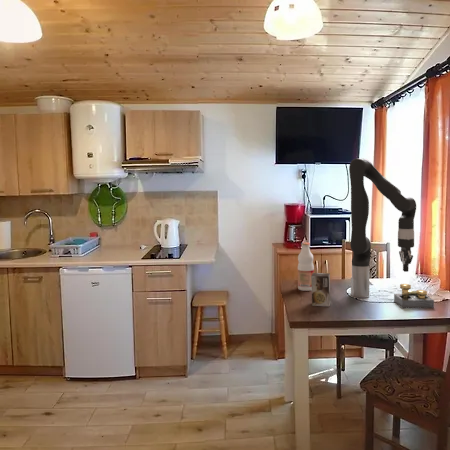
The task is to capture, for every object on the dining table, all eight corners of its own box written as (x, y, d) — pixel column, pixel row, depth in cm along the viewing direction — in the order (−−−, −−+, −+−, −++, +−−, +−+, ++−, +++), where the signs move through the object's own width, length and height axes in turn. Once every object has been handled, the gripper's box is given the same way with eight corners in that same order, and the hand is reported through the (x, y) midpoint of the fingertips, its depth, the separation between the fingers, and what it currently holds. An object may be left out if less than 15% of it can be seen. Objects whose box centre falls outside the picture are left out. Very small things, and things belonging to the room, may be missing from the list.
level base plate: (402, 308, 200) (402, 297, 200) (394, 301, 212) (394, 290, 212) (433, 308, 199) (433, 296, 199) (423, 300, 211) (423, 290, 211)
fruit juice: (295, 287, 245) (294, 242, 242) (310, 286, 247) (309, 241, 244) (302, 291, 236) (301, 244, 233) (316, 290, 238) (316, 243, 235)
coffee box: (330, 303, 213) (330, 273, 211) (329, 306, 207) (329, 276, 205) (313, 302, 216) (312, 272, 214) (311, 305, 210) (311, 275, 208)
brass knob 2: (418, 305, 203) (418, 292, 203) (414, 302, 208) (414, 290, 207) (428, 305, 203) (428, 292, 202) (424, 302, 208) (424, 289, 207)
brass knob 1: (402, 299, 204) (402, 286, 203) (398, 296, 208) (398, 283, 208) (412, 299, 203) (412, 286, 202) (408, 296, 208) (408, 283, 207)
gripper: (393, 235, 209) (393, 268, 211) (403, 239, 196) (402, 274, 198) (408, 235, 209) (408, 268, 211) (419, 239, 196) (418, 274, 197)
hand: (405, 271), depth 204 cm, fingers closed
